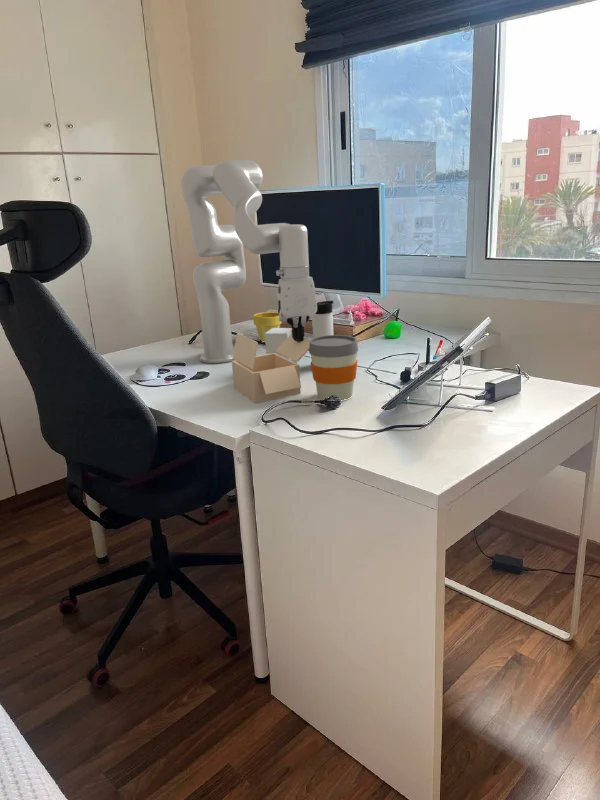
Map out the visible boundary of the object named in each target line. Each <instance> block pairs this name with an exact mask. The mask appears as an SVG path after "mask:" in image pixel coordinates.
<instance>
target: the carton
mask: <svg viewBox="0 0 600 800" xmlns="http://www.w3.org/2000/svg"><path fill="white" fill-rule="evenodd" d="M231 367H232V368H231V369H232V378H233V379H232V380H233V388H234V389H235V390H236V391H237V392H239V393H240V394H242V395H243V396H244V397H246V398H247V399H249V400H250V401H252V402H254V403H255V404H258V403H262V402H266V401H272V400H276V399H280V398H286V397H291V396H295V395H301V394H302V393H301V388H302V386H301V375H300V373H301V372H300V364H298V363H297V364H296V363H294V362H292V361H290V360H288V359H286V358H284V357H282V356H280V355H278V354H276V353H273V354H266V353H264V354H259V355H256V357H255V363H254V369H251V368H249V367H248V366H246V365H244V364H243V363H241V362H239V361H237V360H236V359H235V360H233V361H231ZM300 393H301V394H300Z"/></svg>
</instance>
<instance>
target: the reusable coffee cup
mask: <svg viewBox="0 0 600 800" xmlns="http://www.w3.org/2000/svg"><path fill="white" fill-rule="evenodd" d="M309 340H310V345H309V351H308V353H309V355H310V357H311V361H310V368H311V373H312V379H313V381H314V382H315V386H316V392H317V399H318V400H320V401H323V399H325V398H328V397H329V396H331V395H337V396H339V397H340V399H341V400H344V399H348V398H350V397H351V396H352V397H353V393H354V382H355V380H356V378H357V370H358V360H357V354H358V351H359V346H358V339H357V337H354V336H352V335H346V334H345V335H344V334H333V335H327V336H321V337H316V338H313V337H312V339H309ZM350 399H351V398H350ZM348 400H349V399H348Z"/></svg>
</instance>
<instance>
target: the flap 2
mask: <svg viewBox="0 0 600 800" xmlns="http://www.w3.org/2000/svg"><path fill="white" fill-rule="evenodd" d="M303 339H304V340H303V341H300V342H297V341H295V340H293V338H292V334H291V335H290V336H289V337H288V338H287V339H286V340H285V341H284V342H283V343H282V344H281V345H280V346H279V347H278V348H277V349H276V350H275V351H276V352H278V353H280V354H282V355H285V356H287V357H289V358H291V359H293V360H295V361H297V363H298V362H299V361H300V360H301V359H302V358H303V357H304V356H305V355H306V354H307V353H309V345H310V340H311V339H308V338H306V337H303Z"/></svg>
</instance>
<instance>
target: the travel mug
mask: <svg viewBox="0 0 600 800" xmlns="http://www.w3.org/2000/svg"><path fill="white" fill-rule="evenodd" d="M333 304H334V300H324V301H318V302H317V312H316V313H315V314H316V316H315V317H313V318H311V323H312V324H311V326H312V328H311V329H312V339H313V338H316V337H321V336H327V335H334V316H333V315H334V314H333V313H334V312H333Z"/></svg>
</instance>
